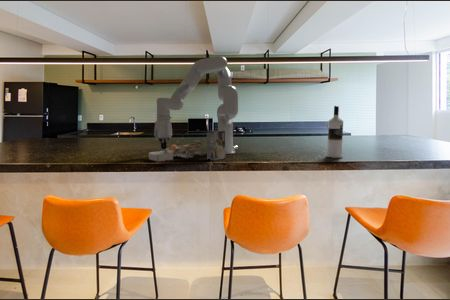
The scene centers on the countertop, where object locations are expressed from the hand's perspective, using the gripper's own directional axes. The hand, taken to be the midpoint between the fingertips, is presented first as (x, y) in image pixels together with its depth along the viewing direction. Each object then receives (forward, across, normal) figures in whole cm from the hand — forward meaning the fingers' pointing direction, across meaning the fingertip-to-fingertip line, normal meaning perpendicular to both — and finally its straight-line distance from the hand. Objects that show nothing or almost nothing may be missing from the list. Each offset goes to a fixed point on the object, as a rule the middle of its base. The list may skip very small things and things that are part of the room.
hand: (163, 148), depth 185 cm
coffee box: (+4, -17, +29) cm, 34 cm away
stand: (+4, -10, +7) cm, 13 cm away
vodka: (+3, -72, +72) cm, 102 cm away
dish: (+5, +8, +9) cm, 13 cm away
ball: (-2, -1, +9) cm, 9 cm away
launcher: (0, -9, +5) cm, 11 cm away
